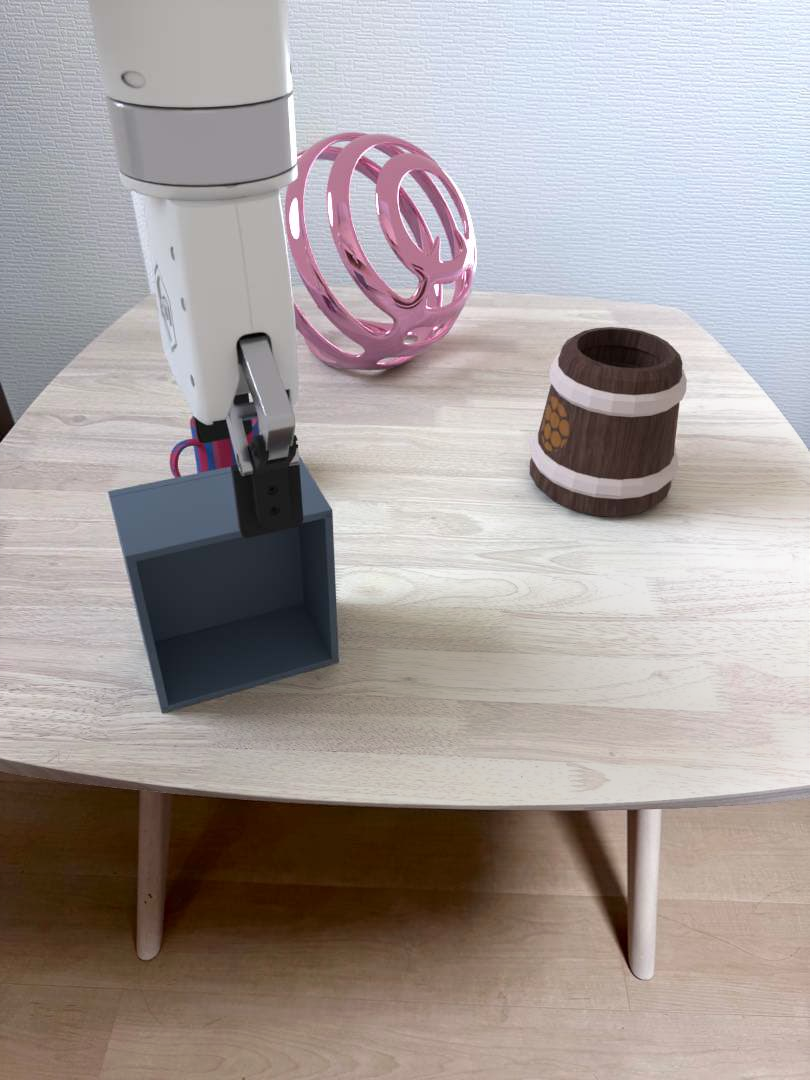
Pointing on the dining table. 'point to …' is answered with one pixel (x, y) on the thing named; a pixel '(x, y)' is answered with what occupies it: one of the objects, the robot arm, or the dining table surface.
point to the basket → (225, 587)
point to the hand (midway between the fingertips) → (246, 479)
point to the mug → (610, 423)
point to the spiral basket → (420, 259)
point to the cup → (209, 451)
